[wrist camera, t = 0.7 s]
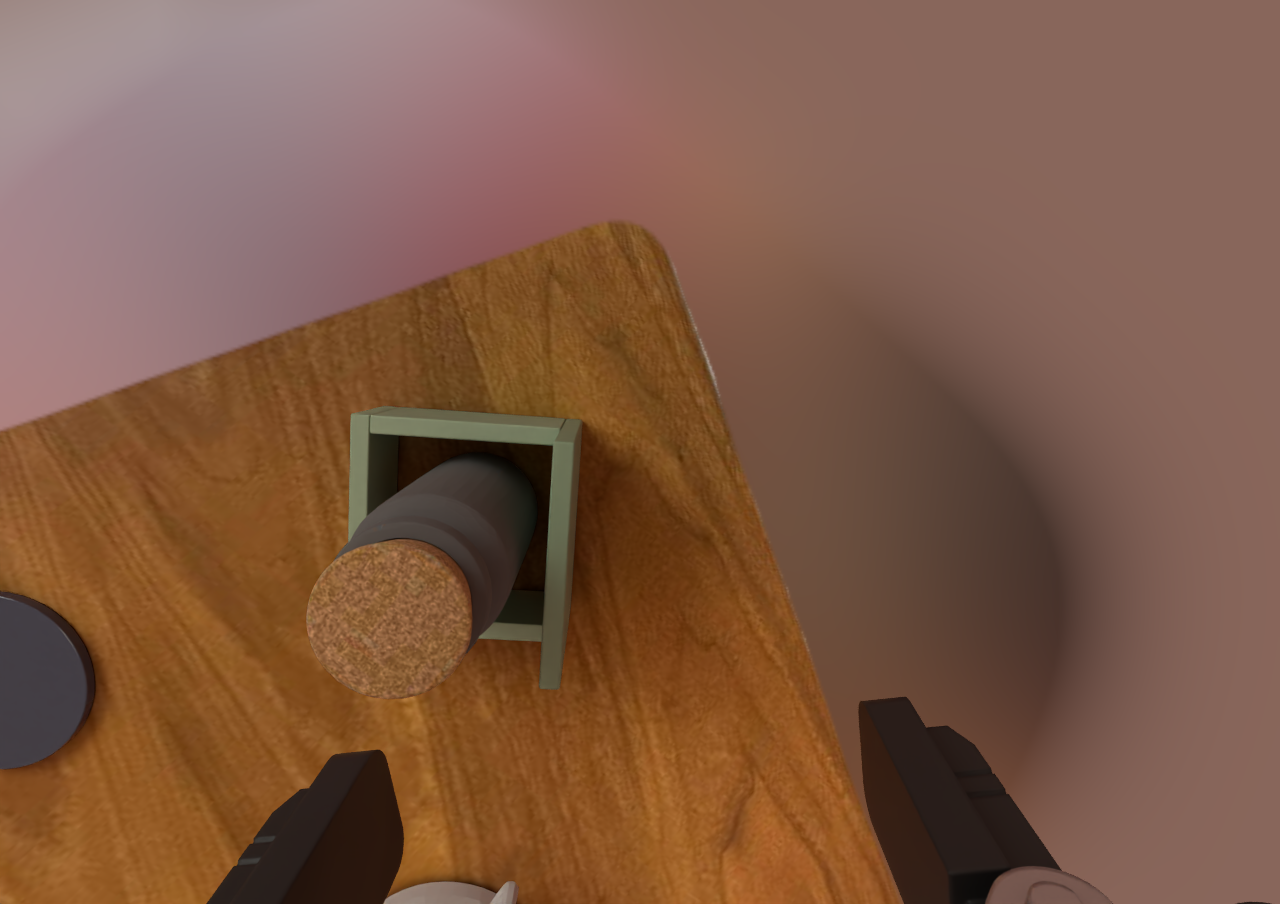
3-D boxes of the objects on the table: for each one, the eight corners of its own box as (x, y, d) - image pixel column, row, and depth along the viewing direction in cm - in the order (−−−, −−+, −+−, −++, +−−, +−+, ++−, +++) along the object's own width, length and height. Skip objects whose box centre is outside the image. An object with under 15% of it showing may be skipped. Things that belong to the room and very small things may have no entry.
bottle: (561, 525, 36) (530, 649, 21) (464, 588, 36) (364, 755, 21) (494, 427, 35) (412, 484, 20) (395, 493, 35) (241, 596, 20)
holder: (383, 405, 34) (305, 424, 26) (582, 419, 35) (575, 442, 26) (378, 597, 36) (303, 678, 27) (570, 607, 36) (559, 690, 27)
